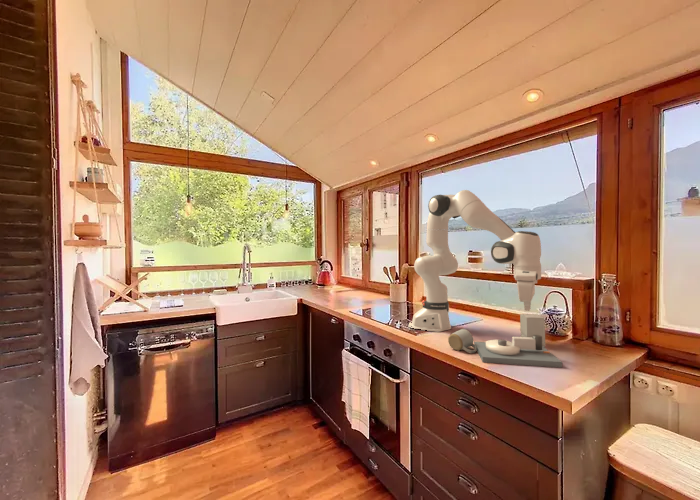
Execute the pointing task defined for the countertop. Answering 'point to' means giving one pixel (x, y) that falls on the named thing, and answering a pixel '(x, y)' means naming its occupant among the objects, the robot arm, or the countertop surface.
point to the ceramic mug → (462, 341)
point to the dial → (514, 345)
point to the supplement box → (532, 326)
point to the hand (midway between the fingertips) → (527, 310)
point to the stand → (519, 357)
